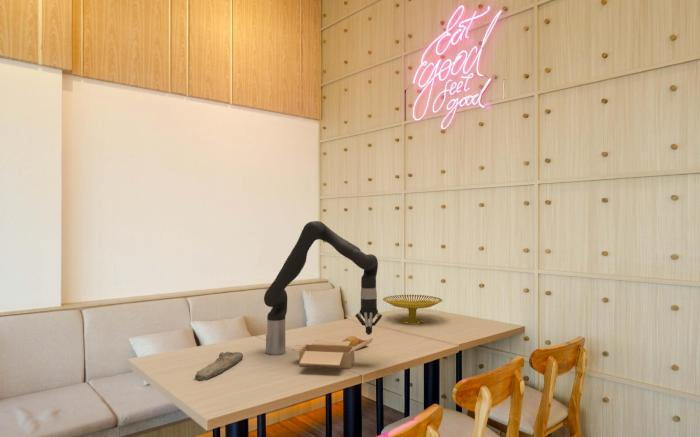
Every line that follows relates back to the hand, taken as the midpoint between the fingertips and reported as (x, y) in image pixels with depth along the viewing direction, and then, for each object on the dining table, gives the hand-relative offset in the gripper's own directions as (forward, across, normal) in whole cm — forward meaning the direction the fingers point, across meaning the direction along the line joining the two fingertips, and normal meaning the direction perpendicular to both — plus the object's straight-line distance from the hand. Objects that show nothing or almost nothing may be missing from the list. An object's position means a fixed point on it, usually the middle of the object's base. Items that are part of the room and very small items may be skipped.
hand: (368, 334), depth 212 cm
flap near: (+7, -20, -6) cm, 22 cm away
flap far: (+7, -8, 0) cm, 11 cm away
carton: (+14, -22, +4) cm, 27 cm away
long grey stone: (+15, -67, -14) cm, 70 cm away
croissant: (+15, -14, +27) cm, 34 cm away
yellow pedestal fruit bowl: (+15, +17, +99) cm, 102 cm away
